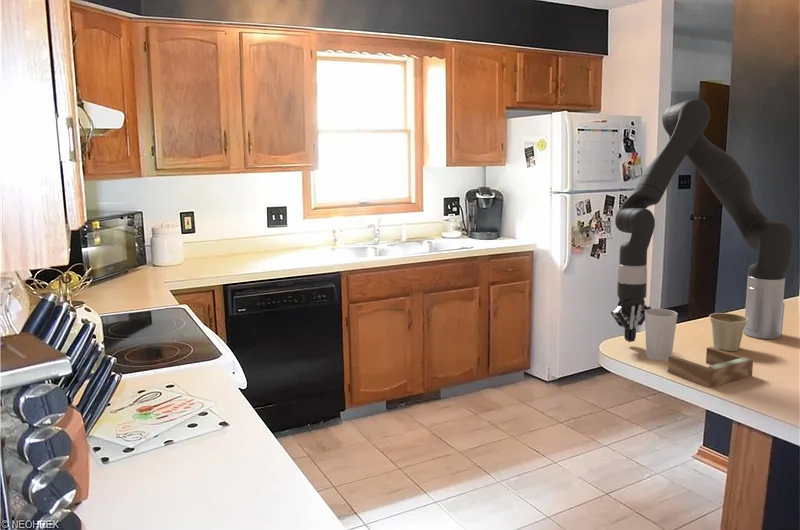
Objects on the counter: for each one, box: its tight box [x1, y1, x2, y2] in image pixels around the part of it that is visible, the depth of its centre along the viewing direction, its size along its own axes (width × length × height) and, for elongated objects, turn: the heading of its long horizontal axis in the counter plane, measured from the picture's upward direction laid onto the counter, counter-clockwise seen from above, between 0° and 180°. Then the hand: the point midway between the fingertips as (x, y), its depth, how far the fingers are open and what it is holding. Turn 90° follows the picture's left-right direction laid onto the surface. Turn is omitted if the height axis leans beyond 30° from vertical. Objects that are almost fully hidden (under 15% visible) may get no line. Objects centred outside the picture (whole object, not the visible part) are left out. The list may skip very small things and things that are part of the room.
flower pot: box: [708, 312, 748, 352], centre depth 167 cm, size 9×9×9 cm
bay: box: [667, 346, 754, 388], centre depth 148 cm, size 15×12×4 cm
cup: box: [644, 308, 679, 361], centre depth 161 cm, size 8×8×12 cm
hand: (629, 340), depth 171 cm, fingers closed
